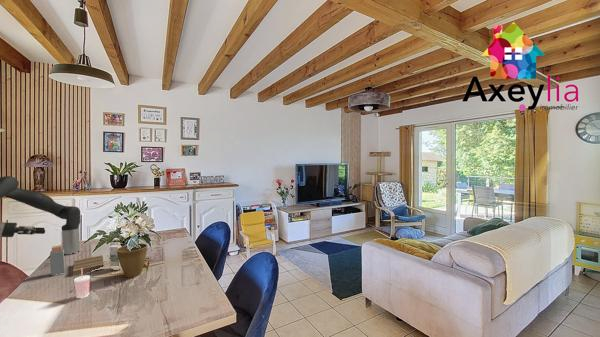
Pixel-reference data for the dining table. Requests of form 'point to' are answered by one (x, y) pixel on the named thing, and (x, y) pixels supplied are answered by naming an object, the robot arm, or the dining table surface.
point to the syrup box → (114, 255)
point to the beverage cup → (82, 285)
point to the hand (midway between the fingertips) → (44, 230)
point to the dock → (87, 264)
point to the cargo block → (57, 249)
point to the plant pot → (132, 260)
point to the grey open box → (57, 262)
